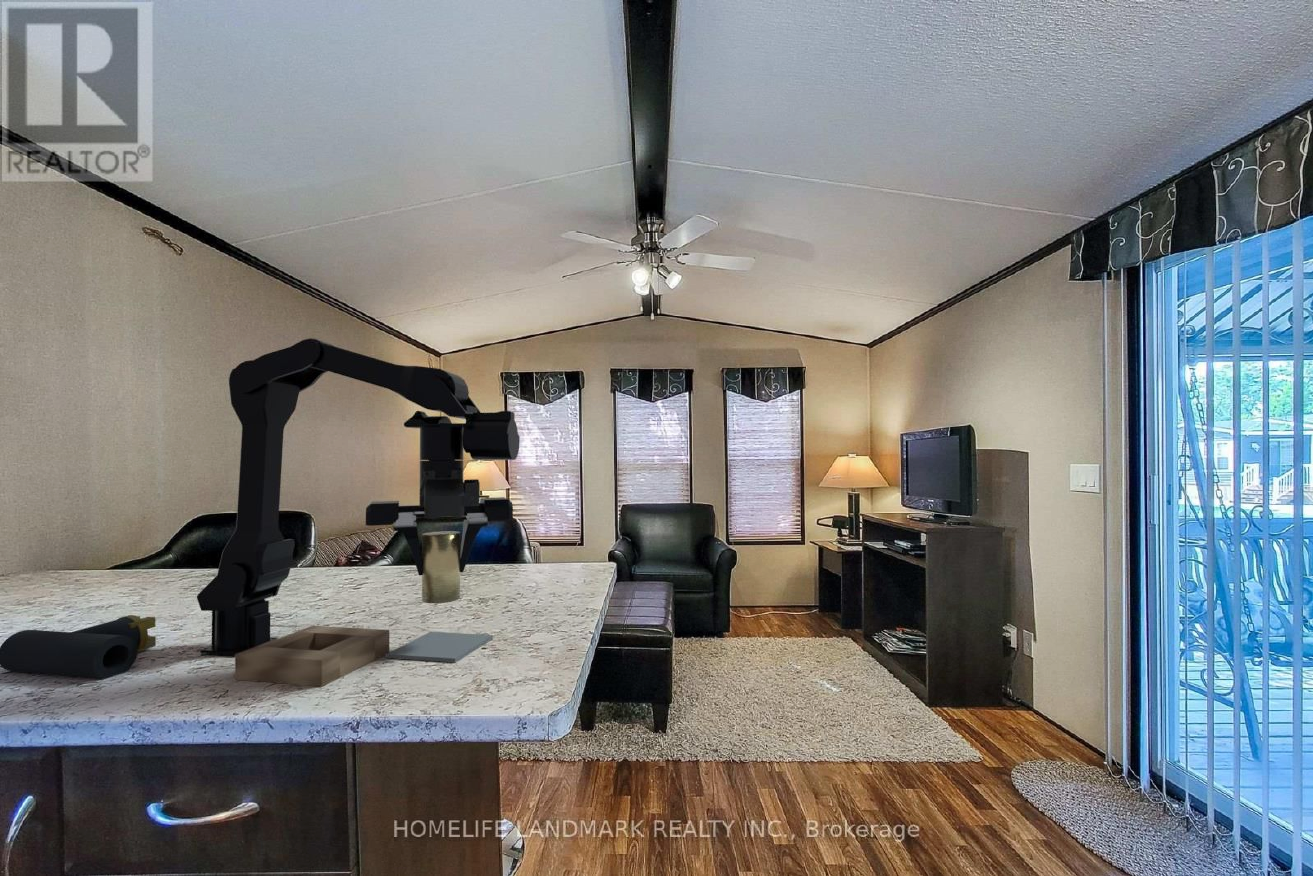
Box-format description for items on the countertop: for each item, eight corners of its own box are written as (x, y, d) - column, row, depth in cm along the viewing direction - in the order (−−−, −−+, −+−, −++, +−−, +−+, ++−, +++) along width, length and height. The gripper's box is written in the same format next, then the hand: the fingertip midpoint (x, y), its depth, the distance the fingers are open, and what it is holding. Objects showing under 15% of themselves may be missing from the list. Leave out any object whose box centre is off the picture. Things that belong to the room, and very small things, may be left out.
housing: (235, 679, 70) (235, 654, 70) (313, 647, 82) (313, 625, 82) (321, 686, 68) (321, 660, 68) (389, 652, 80) (389, 630, 80)
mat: (386, 657, 77) (386, 654, 77) (430, 635, 87) (430, 631, 87) (455, 662, 75) (455, 658, 75) (492, 638, 85) (492, 635, 85)
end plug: (414, 602, 79) (414, 535, 80) (435, 594, 84) (435, 530, 85) (447, 604, 78) (447, 536, 79) (467, 595, 83) (467, 531, 84)
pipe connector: (101, 609, 84) (187, 614, 81) (101, 647, 84) (188, 652, 81) (-3, 635, 73) (92, 642, 70) (-3, 678, 73) (93, 687, 70)
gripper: (363, 461, 71) (362, 592, 71) (520, 460, 78) (519, 578, 78) (368, 461, 81) (367, 575, 81) (506, 459, 89) (506, 564, 88)
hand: (441, 573), depth 82 cm, fingers closed on end plug, 5 cm apart
